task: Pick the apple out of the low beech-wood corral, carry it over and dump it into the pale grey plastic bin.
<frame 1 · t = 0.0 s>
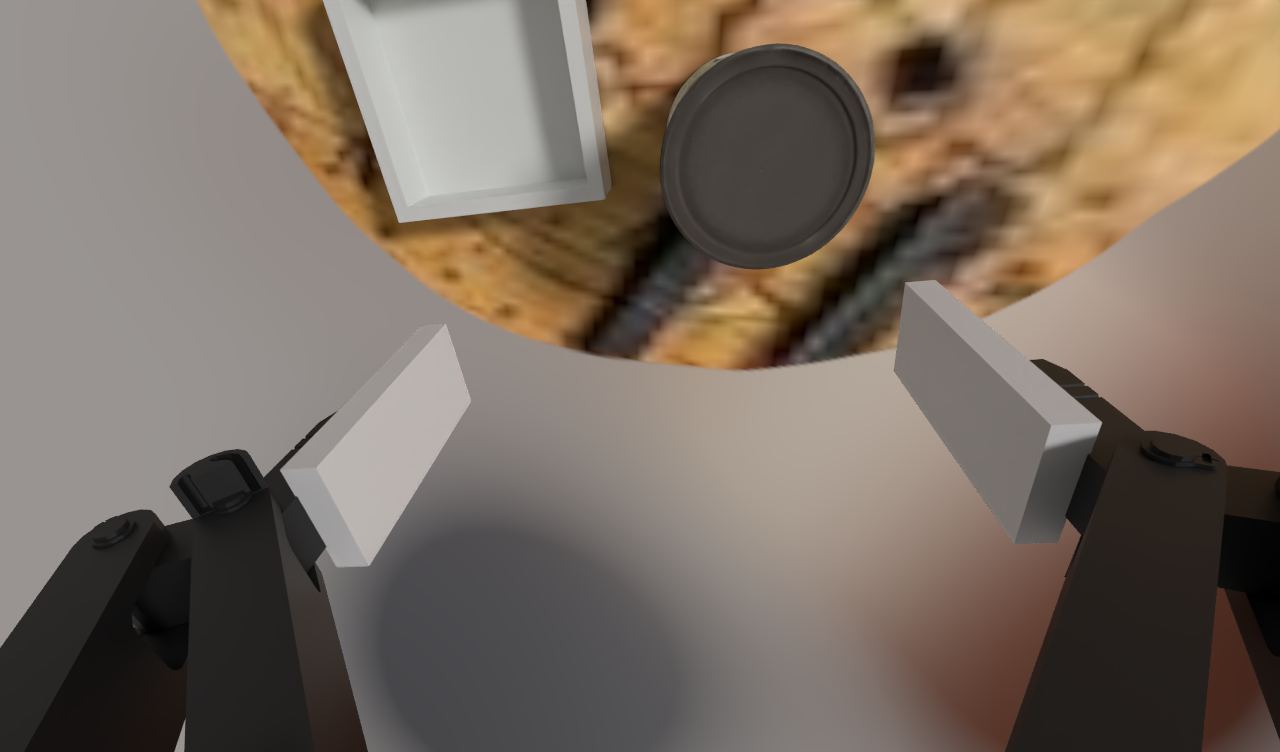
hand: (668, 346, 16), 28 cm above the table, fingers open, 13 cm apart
bin: (491, 88, 38), on the table
coffee can: (738, 134, 38), on the table
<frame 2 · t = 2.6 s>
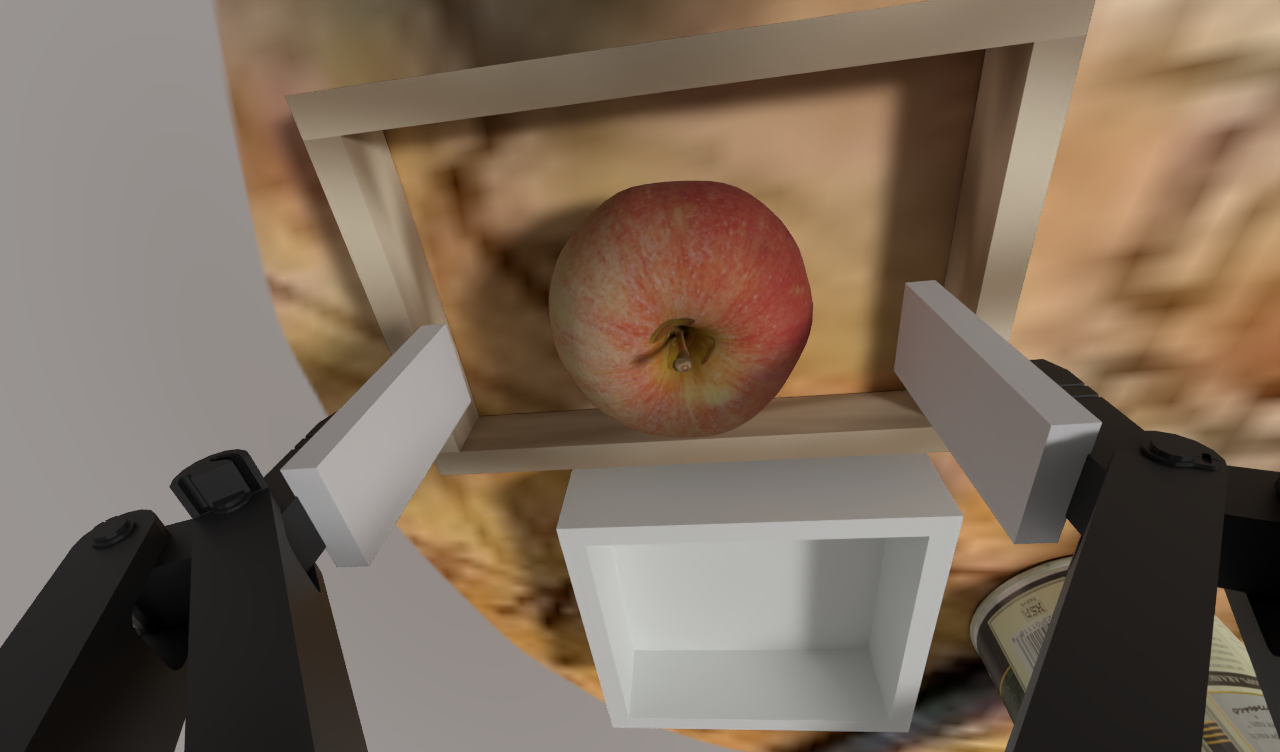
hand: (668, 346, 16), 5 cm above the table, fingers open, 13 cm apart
bin: (744, 560, 28), on the table
coffee can: (1072, 613, 28), on the table
corral: (678, 269, 20), on the table
apple: (678, 267, 20), resting in corral
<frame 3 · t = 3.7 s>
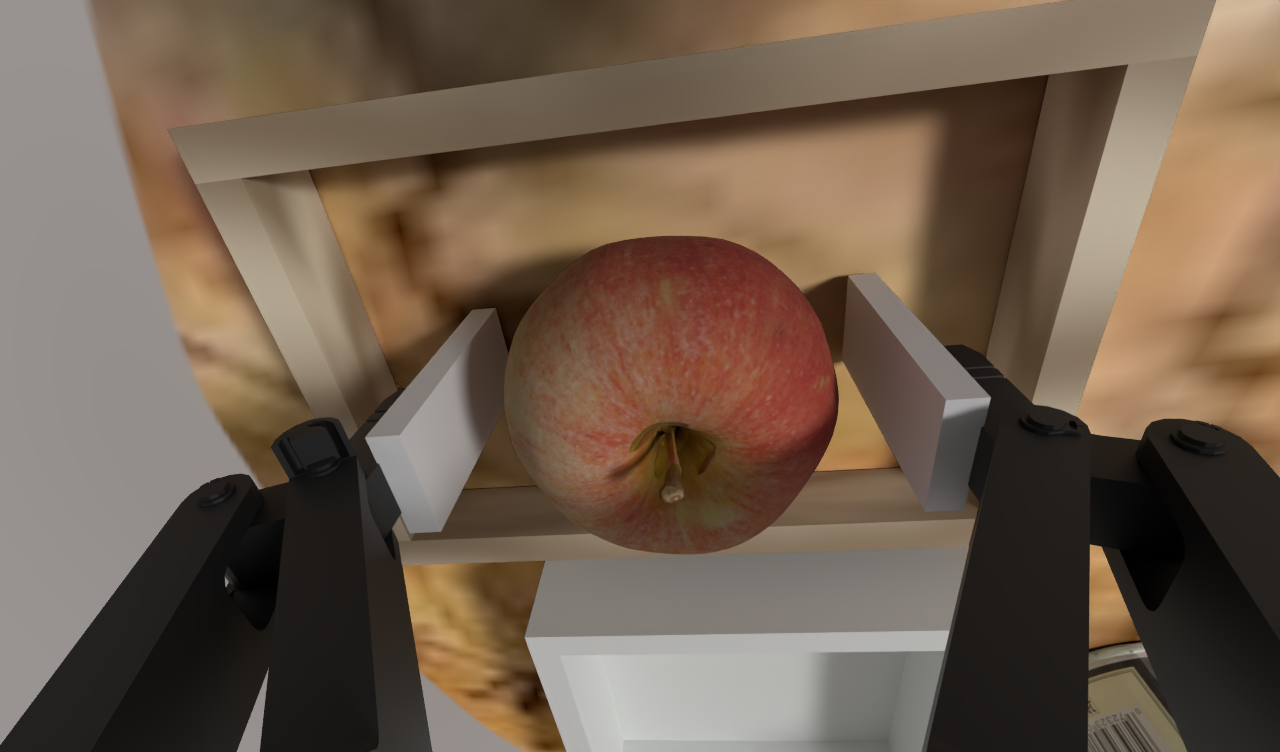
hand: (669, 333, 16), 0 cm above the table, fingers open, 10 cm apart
bin: (747, 645, 24), on the table
coffee can: (1120, 701, 25), on the table
corral: (669, 329, 17), on the table
apple: (670, 326, 17), resting in corral
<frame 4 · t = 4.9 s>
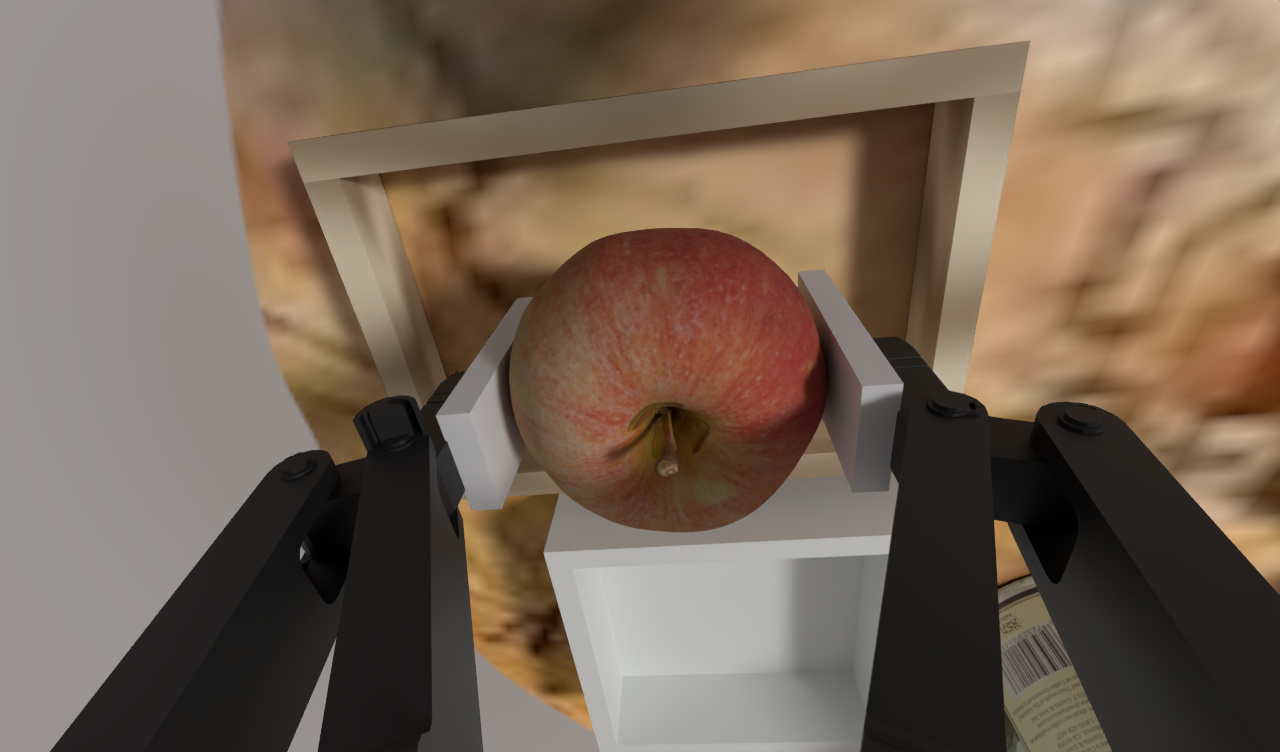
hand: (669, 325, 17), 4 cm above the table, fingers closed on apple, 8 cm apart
bin: (728, 582, 28), on the table
coffee can: (1048, 629, 29), on the table
corral: (659, 300, 21), on the table
apple: (668, 317, 17), point 4 cm above the table, touching gripper
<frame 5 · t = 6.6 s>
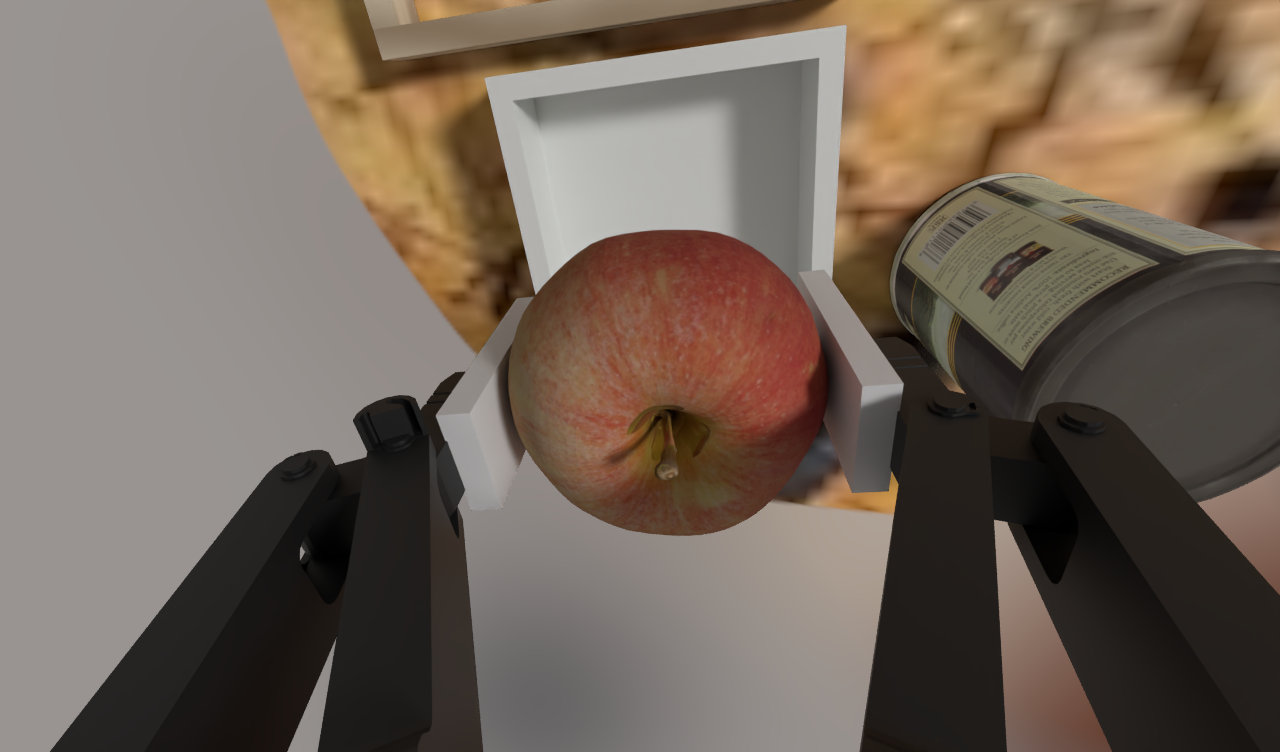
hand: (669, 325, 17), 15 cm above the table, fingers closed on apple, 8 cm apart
bin: (675, 210, 30), on the table
coffee can: (983, 265, 30), on the table
apple: (668, 319, 17), point 14 cm above the table, touching gripper
when the fingers open (5 cm above the table, at t = 8.5 s): apple drops 4 cm, resting on bin.
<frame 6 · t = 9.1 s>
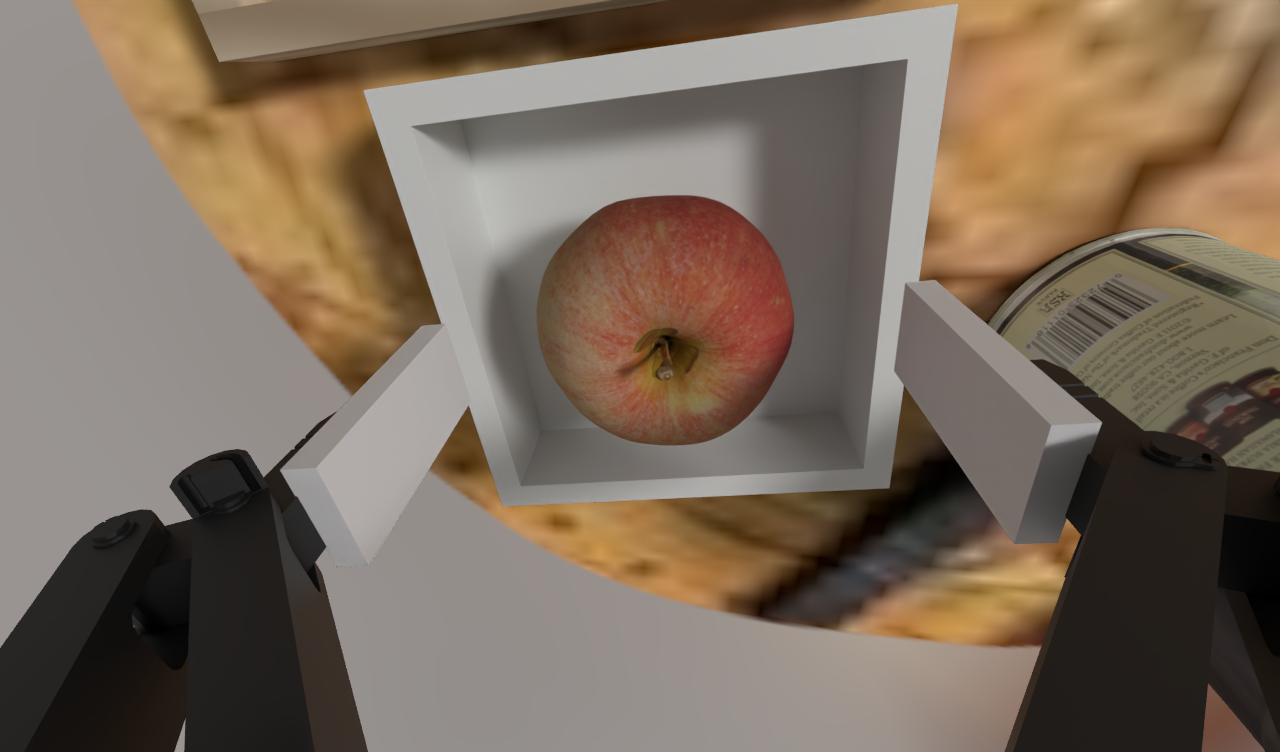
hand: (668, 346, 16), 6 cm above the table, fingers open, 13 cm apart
bin: (671, 274, 21), on the table
coffee can: (1101, 350, 22), on the table
apple: (666, 278, 21), point 1 cm above the table, touching bin
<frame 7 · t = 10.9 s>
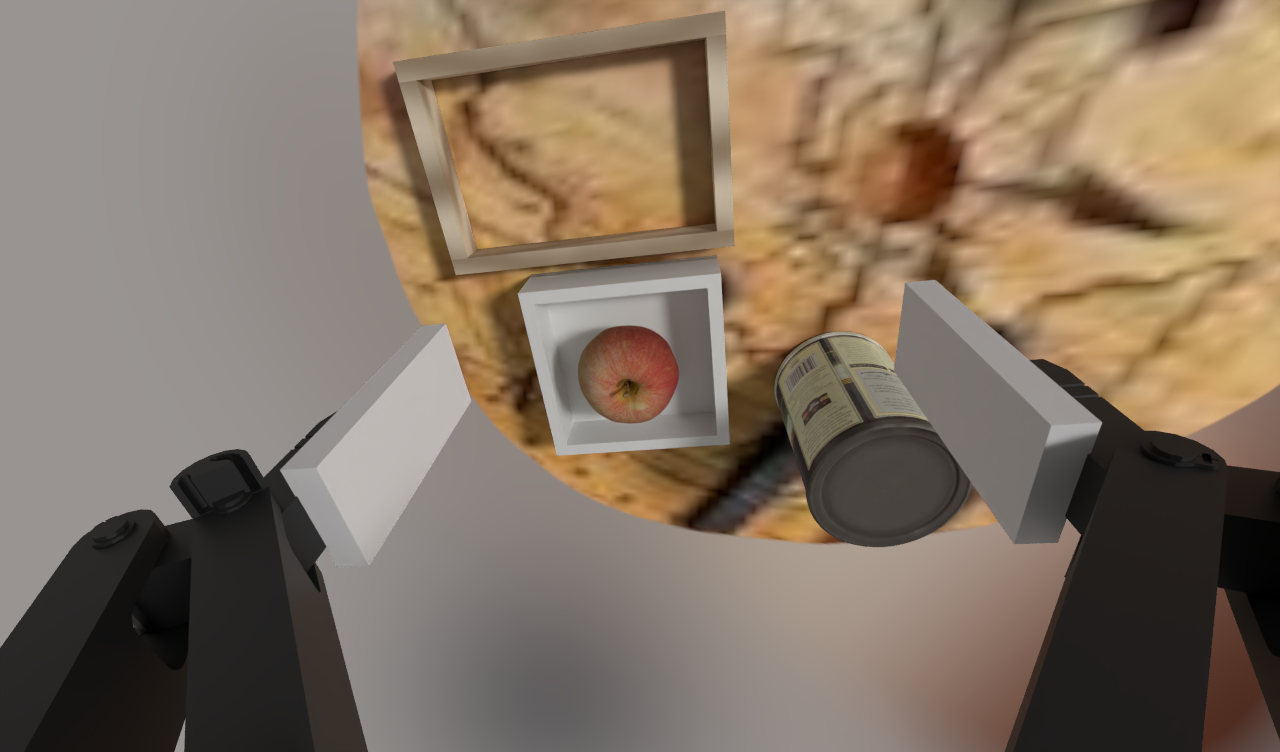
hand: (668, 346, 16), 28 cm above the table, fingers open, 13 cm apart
bin: (634, 349, 47), on the table
coffee can: (833, 382, 47), on the table
corral: (579, 155, 39), on the table
apple: (631, 351, 46), point 1 cm above the table, touching bin
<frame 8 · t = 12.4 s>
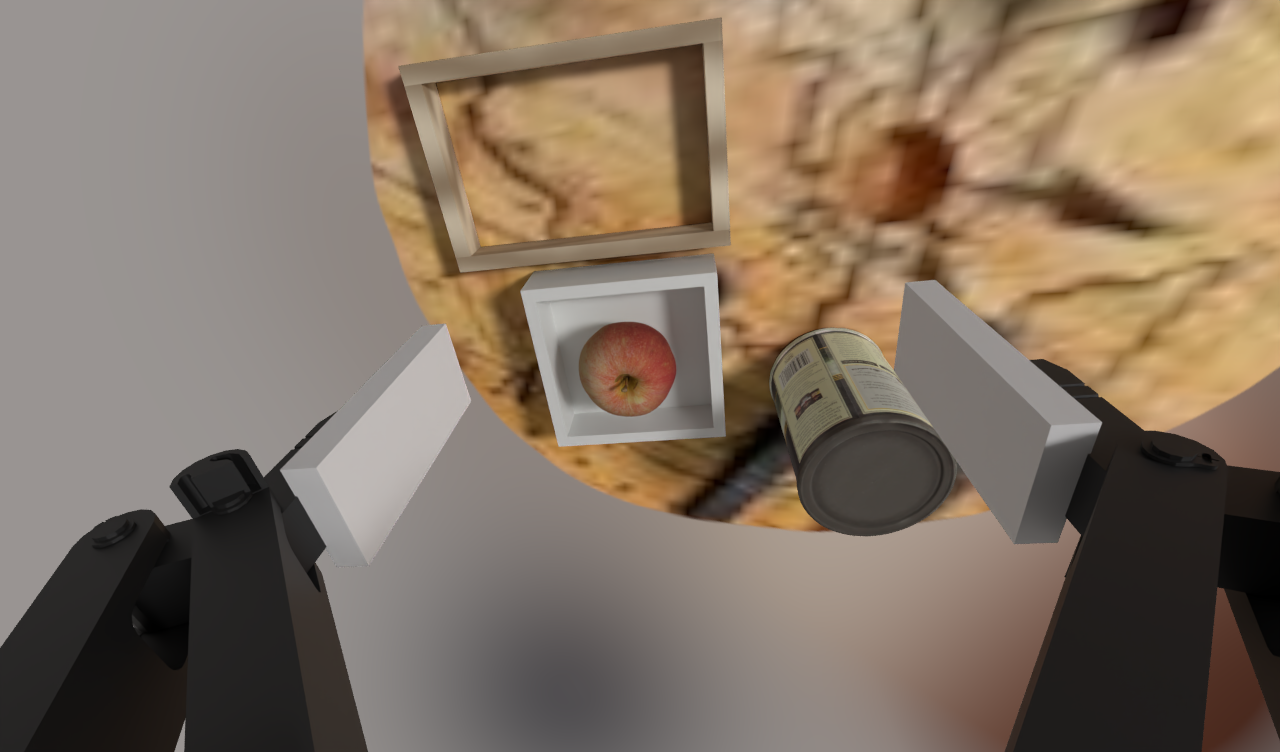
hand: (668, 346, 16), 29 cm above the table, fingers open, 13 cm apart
bin: (633, 343, 48), on the table
coffee can: (826, 376, 49), on the table
corral: (580, 155, 40), on the table
apple: (631, 346, 47), point 1 cm above the table, touching bin
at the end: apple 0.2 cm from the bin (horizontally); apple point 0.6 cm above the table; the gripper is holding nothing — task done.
